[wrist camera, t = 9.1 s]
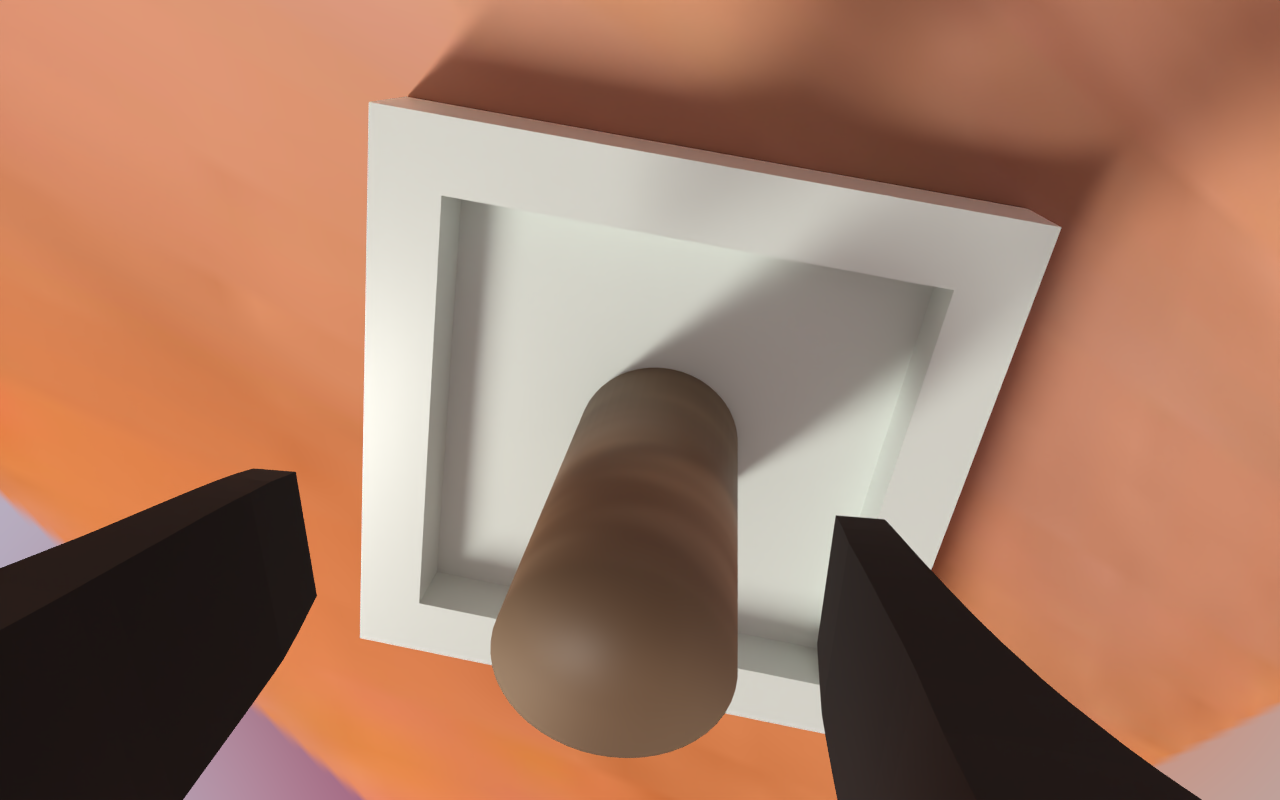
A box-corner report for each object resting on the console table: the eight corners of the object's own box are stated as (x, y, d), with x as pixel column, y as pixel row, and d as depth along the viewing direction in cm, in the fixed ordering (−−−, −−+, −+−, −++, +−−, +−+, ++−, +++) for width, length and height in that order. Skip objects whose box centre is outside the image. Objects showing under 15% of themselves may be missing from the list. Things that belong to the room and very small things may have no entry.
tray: (1027, 208, 17) (1061, 227, 16) (855, 688, 23) (865, 741, 21) (406, 96, 18) (368, 101, 16) (389, 593, 24) (359, 637, 22)
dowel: (732, 362, 19) (729, 557, 12) (742, 507, 21) (745, 759, 13) (568, 372, 20) (468, 564, 12) (590, 512, 21) (513, 757, 14)
